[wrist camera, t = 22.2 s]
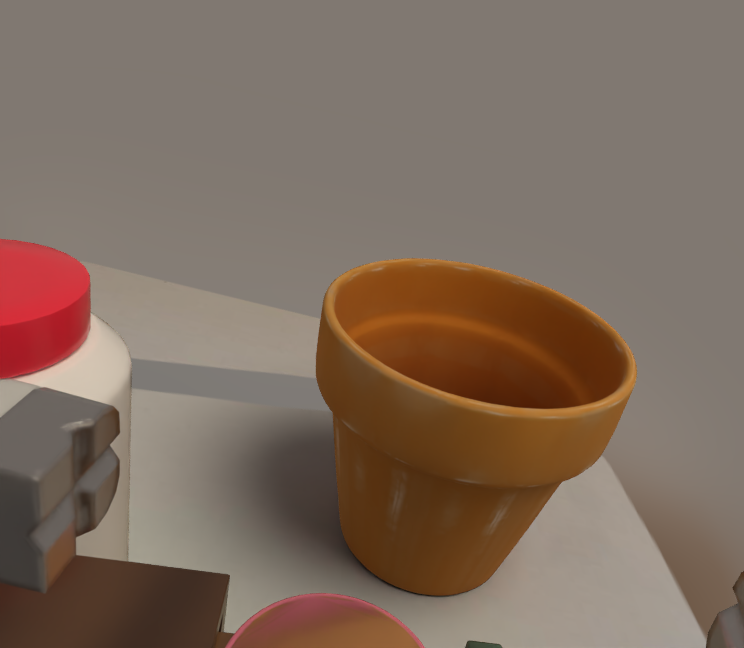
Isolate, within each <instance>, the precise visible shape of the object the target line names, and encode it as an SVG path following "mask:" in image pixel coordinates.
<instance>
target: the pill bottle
mask: <svg viewBox="0 0 744 648" xmlns="http://www.w3.org/2000/svg"><path fill="white" fill-rule="evenodd" d="M7 378H11V379H15V380H18V381H22V382H26V383H30V384H34V385H37V386H40V387H42V388H43V387H46V388H50V389H54V390H57V391H61V392H65V393H68V394H72V395H76V396H79V397H83V398H86V399H90V400H94V401H97V402H101V403H105V404H108V405H112V406H114V407H115V408H116V409H117V410H118V411H119V416H120V434H119V435H118V436H117V437H116V438H115V440H114V441H113V442H112V443H111V444H110V446H111V447H112V449H113V450H114V452H115V453H116V455H117V456H118V458H119V459H120V476H119V481H118V486H117V491H116V494H115V496H114V498H113V500H112V503H111V505H110V507H109V510H108V512H107V514H106V515H105V516H104V518H103V519H102V520H101V522H100V523H99V525H98V526H97V527H96V529H94V530H92V531H90V532H87V533H85V534H83V535H81V536H78V537H76V555H81V556H89V557H97V558H104V559H112V560H120V561H128V551H129V496H130V441H131V387H132V386H131V385H132V365H131V358H130V352H129V349H128V347H127V345H126V343H125V342H124V340H123V338H122V337H121V336H120V335H119V334H118V333H117V332H116V331H115V330H114V329H113V328H112V327H111V326H110V325H109V324H108V323H106V322H105V321H104V320H102V319H101V318H99V317H98V316H96V315H95V314H94V313H92V312H91V301H90V275H89V273H88V271H87V270H86V268H85V266H84V265H82V264H81V263H80V262H79V261H78V260H76V259H75V258H73V257H71V256H70V255H68V254H66V253H64V252H61V251H58V250H56V249H53V248H50V247H46V246H42V245H39V244H34V243H28V242H22V241H17V240H6V239H0V380H1V379H7Z"/></svg>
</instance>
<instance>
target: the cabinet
mask: <svg viewBox="0 0 744 648" xmlns="http://www.w3.org/2000/svg"><path fill="white" fill-rule="evenodd" d="M229 579H230V575H228V574H220V573H213V572H205V571H197V570H189V569H182V568H174V567H166V566H159V565H151V564H143V563H135V562H128V561H120V560H112V559H104V558H97V557H89V556H81V555H75V556H74V558H73V559H72V560H71V561H70V563H69V564H68V565H67V567H66V568H65V569H64V571H63V572H62V573H61V574H60V576H59V577H58V578H57V580H56V581H55V582H54V584H53V585H52V586H51V587H50V589H49V590H48V591H47V593H46V594H44V593H40V592H36V591H32V590H28V589H23V588H19V587H15V586H11V585H7V584H3V583H0V648H215V644H216V640H217V636H218V632H224V624H225V615H226V606H227V597H228V588H229Z"/></svg>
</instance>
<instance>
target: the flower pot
mask: <svg viewBox="0 0 744 648" xmlns="http://www.w3.org/2000/svg"><path fill="white" fill-rule="evenodd" d="M636 377H637V367H636V362H635V359H634V356H633V354H632V352H631V350H630V348H629V347H628V345H627V344H626V342H625V341H624V340H623V339H622V337H621V336H620V335H619V334H618V333H617V332H616V331H615V330H614V329H613V328H612V327H611V326H610V325H609V324H608V323H606V322H605V321H604V320H603V319H602V318H601V317H599V316H598V315H596V314H595V313H594V312H592V311H591V310H589V309H588V308H586V307H585V306H583V305H581V304H579V303H578V302H576V301H575V300H573V299H571V298H569V297H567V296H565V295H563V294H561V293H559V292H557V291H555V290H553V289H550V288H548V287H546V286H543V285H541V284H538V283H536V282H533V281H530V280H528V279H525V278H522V277H519V276H516V275H513V274H510V273H506V272H503V271H499V270H495V269H491V268H487V267H483V266H478V265H473V264H468V263H462V262H454V261H446V260H436V259H417V258H411V259H410V258H407V259H393V260H385V261H378V262H373V263H369V264H365V265H362V266H359V267H356V268H353V269H351V270H349V271H347V272H345V273H344V274H342V275H341V276H339V277H338V278H337V279H335V280H334V281H333V282H332V283H331V285H330V286H329V288H328V290H327V291H326V293H325V296H324V300H323V307H322V313H321V320H320V327H319V335H318V344H317V353H316V378H317V383H318V386H319V389H320V392H321V394H322V396H323V398H324V400H325V402H326V404H327V405H328V407H329V408H330V410H331V411H332V412H333V426H334V444H335V462H336V476H337V488H338V499H339V514H340V524H341V529H342V533H343V536H344V539H345V541H346V543H347V545H348V547H349V548H350V550H351V552H352V553H353V554H354V555H355V556H356V558H357V559H358V560H359V561H360V562H361V563H362V564H363V565H364V566H365V567H366V568H367V569H368V570H370V571H371V572H372V573H373V574H375V575H376V576H377V577H379V578H381V579H382V580H384V581H386V582H388V583H390V584H392V585H394V586H396V587H399V588H401V589H404V590H407V591H410V592H414V593H419V594H425V595H437V596H441V595H454V594H459V593H463V592H467V591H469V590H472V589H474V588H476V587H478V586H480V585H481V584H483V583H484V582H486V581H487V580H488V579H489V578H490V577H491V576H492V575H493V574H494V572H495V571H496V570H497V568H498V567H499V566H500V565H501V563H502V562H503V561H504V560H505V558H506V557H507V556H508V554H509V553H510V552H511V550H512V549H513V548H514V546H515V545H516V544H517V542H518V541H519V540H520V538H521V537H522V536H523V535H524V533H525V532H526V531H527V529H528V528H529V526H530V525H531V524H532V522H533V521H534V519H535V518H536V517H537V515H538V514H539V512H540V511H541V510H542V508H543V507H544V506H545V504H546V503H547V501H548V500H549V499H550V497H551V496H552V495H553V493H554V492H555V490H556V489H557V488H558V486H559V485H560V484H561V482H563V481H566V480H568V479H570V478H573V477H575V476H577V475H579V474H580V473H582V472H584V471H585V470H587V469H588V468H589V467H591V466H592V465H593V464H594V463H595V462H596V461H597V460H598V459H599V457H600V456H601V454H602V453H603V451H604V450H605V448H606V446H607V444H608V442H609V440H610V439H611V436H612V435H613V433H614V431H615V429H616V427H617V424H618V422H619V420H620V417H621V415H622V413H623V410H624V408H625V406H626V404H627V401H628V399H629V397H630V395H631V393H632V390H633V388H634V386H635V383H636Z"/></svg>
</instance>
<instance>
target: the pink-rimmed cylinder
mask: <svg viewBox="0 0 744 648" xmlns="http://www.w3.org/2000/svg"><path fill="white" fill-rule="evenodd" d="M225 648H425V647H424V646H423V644H422V643H421V642H420V640H419V639H418V638H417V637H416V636H415V635H414V634H413V632H412V631H411V630H410V629H409V628H408V627H407V626H405V625H404V624H403V623H402V622H401V621H400V620H398V619H397V618H396V617H394V616H393V615H391V614H390V613H388V612H387V611H385V610H383V609H381V608H379V607H377V606H376V605H373V604H371V603H368V602H366V601H364V600H360V599H357V598H354V597H350V596H345V595H339V594H329V593H314V594H305V595H298V596H294V597H290V598H286V599H284V600H281V601H278V602H276V603H273V604H271V605H270V606H268V607H266V608H264V609H262V610H261V611H259V612H258V613H256V614H255V615H253V616H252V617H251V618H250V619H248V620H247V621H246V622H245V623H244V624H243V625H242V626H241V627H240V628H239V629H238V630H237V632H236V633H235V634H234V635H233V636H232V637H231V639H230V641H229V642H228V644H227V645H226V647H225Z"/></svg>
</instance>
